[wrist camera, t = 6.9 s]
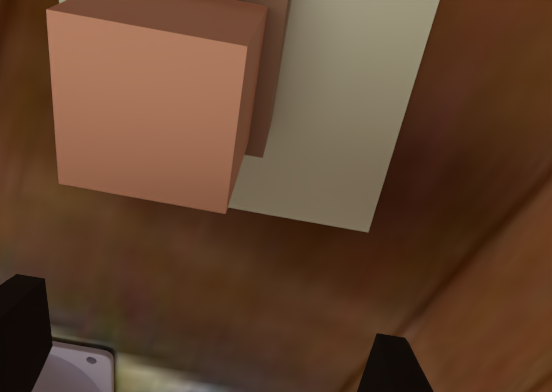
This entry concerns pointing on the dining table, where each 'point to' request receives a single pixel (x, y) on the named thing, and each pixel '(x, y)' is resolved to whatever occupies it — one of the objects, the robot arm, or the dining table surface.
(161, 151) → the terracotta cube
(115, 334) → the dining table surface
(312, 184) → the plate
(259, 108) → the walnut base brick
